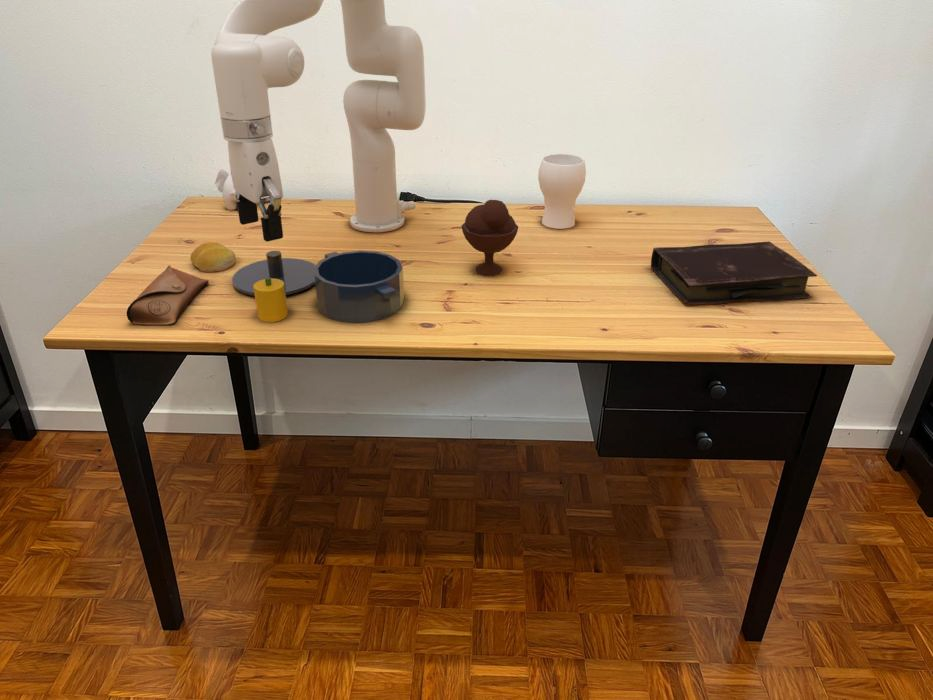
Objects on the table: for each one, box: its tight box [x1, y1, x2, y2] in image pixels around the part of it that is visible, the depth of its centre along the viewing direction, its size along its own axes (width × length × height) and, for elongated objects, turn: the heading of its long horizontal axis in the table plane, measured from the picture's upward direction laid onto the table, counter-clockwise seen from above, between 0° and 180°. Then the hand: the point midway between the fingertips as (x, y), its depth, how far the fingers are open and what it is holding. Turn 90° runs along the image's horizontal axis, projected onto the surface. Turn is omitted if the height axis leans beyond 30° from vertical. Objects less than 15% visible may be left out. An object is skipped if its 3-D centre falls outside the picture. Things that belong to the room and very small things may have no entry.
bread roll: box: [190, 241, 236, 273], centre depth 147 cm, size 8×9×4 cm
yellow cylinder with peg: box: [253, 277, 289, 323], centre depth 127 cm, size 5×5×7 cm
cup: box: [537, 153, 587, 230], centre depth 166 cm, size 11×11×15 cm
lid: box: [231, 250, 317, 297], centre depth 140 cm, size 17×17×6 cm
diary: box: [650, 241, 818, 305], centre depth 141 cm, size 19×25×5 cm
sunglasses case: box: [126, 264, 209, 327], centre depth 132 cm, size 18×7×7 cm
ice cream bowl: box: [461, 199, 519, 277], centre depth 142 cm, size 11×11×15 cm
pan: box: [313, 250, 405, 324], centre depth 132 cm, size 16×21×7 cm
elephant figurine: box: [214, 169, 238, 211], centre depth 176 cm, size 10×12×9 cm
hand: (261, 230), depth 122 cm, fingers open, 9 cm apart
